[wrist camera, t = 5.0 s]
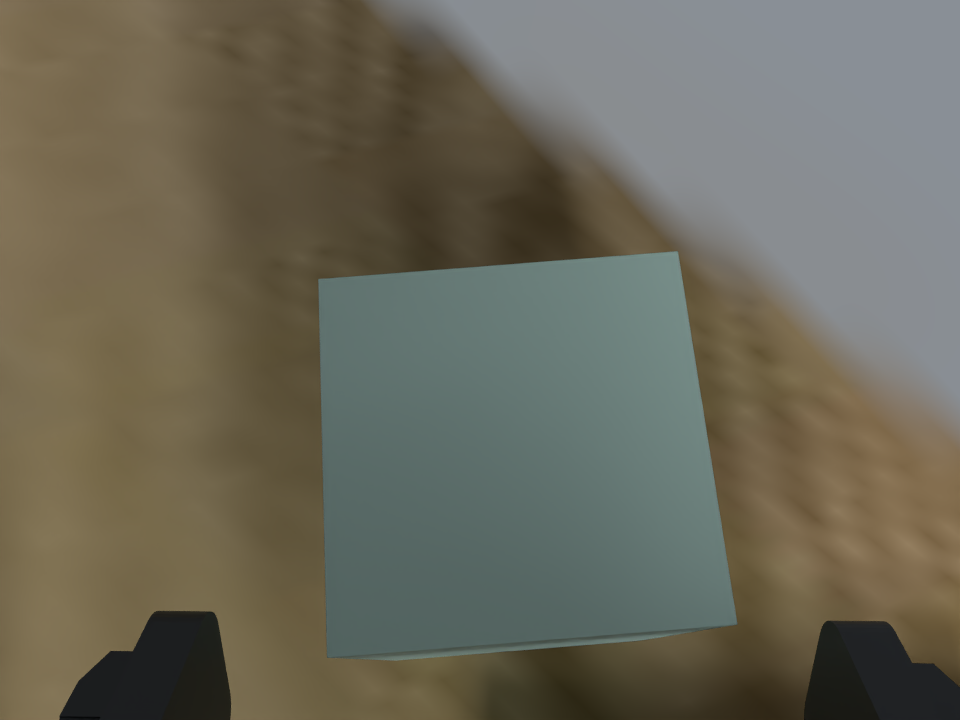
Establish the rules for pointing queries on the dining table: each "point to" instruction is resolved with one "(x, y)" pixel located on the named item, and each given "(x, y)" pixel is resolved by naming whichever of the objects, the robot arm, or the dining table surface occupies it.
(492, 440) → the sage block
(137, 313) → the dining table surface
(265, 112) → the dining table surface
